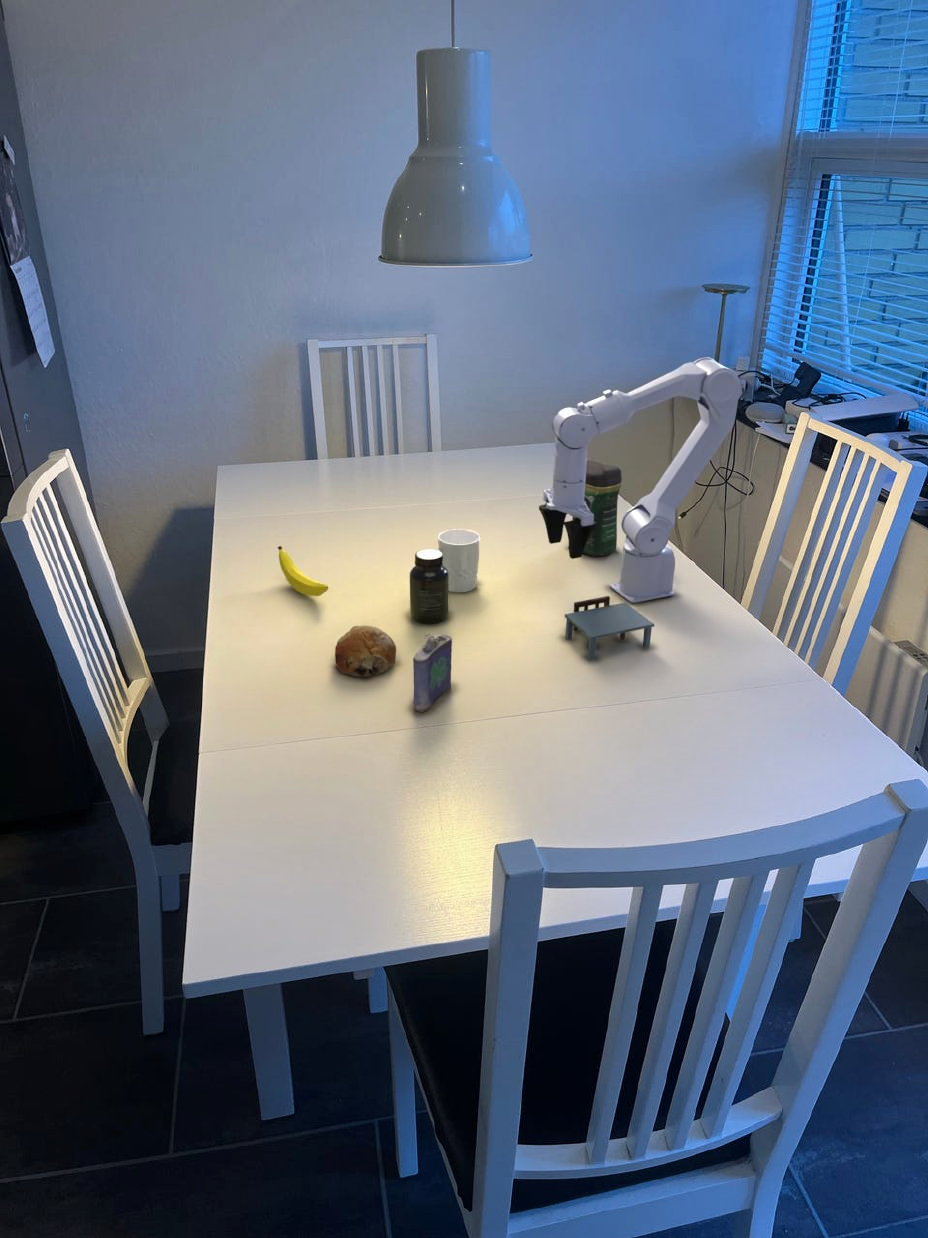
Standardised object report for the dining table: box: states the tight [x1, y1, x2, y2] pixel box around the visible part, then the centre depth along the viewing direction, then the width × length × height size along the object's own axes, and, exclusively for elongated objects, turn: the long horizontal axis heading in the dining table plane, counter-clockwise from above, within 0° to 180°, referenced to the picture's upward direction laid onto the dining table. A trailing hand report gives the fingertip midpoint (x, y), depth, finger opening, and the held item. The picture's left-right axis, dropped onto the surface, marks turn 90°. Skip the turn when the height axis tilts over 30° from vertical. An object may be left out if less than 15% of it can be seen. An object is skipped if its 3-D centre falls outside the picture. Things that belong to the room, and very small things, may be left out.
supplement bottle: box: [409, 548, 450, 625], centre depth 168 cm, size 7×7×12 cm
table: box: [564, 602, 655, 661], centre depth 161 cm, size 12×9×4 cm
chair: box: [573, 595, 626, 641], centre depth 163 cm, size 7×7×6 cm
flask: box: [412, 633, 453, 713], centre depth 143 cm, size 9×3×11 cm, turn 151°
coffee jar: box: [571, 458, 623, 557], centre depth 195 cm, size 10×8×19 cm
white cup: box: [437, 528, 481, 593], centre depth 180 cm, size 8×8×10 cm
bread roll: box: [334, 625, 397, 678], centre depth 154 cm, size 10×10×8 cm
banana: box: [277, 545, 329, 597], centre depth 177 cm, size 3×19×6 cm, turn 36°
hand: (565, 549), depth 174 cm, fingers open, 7 cm apart
